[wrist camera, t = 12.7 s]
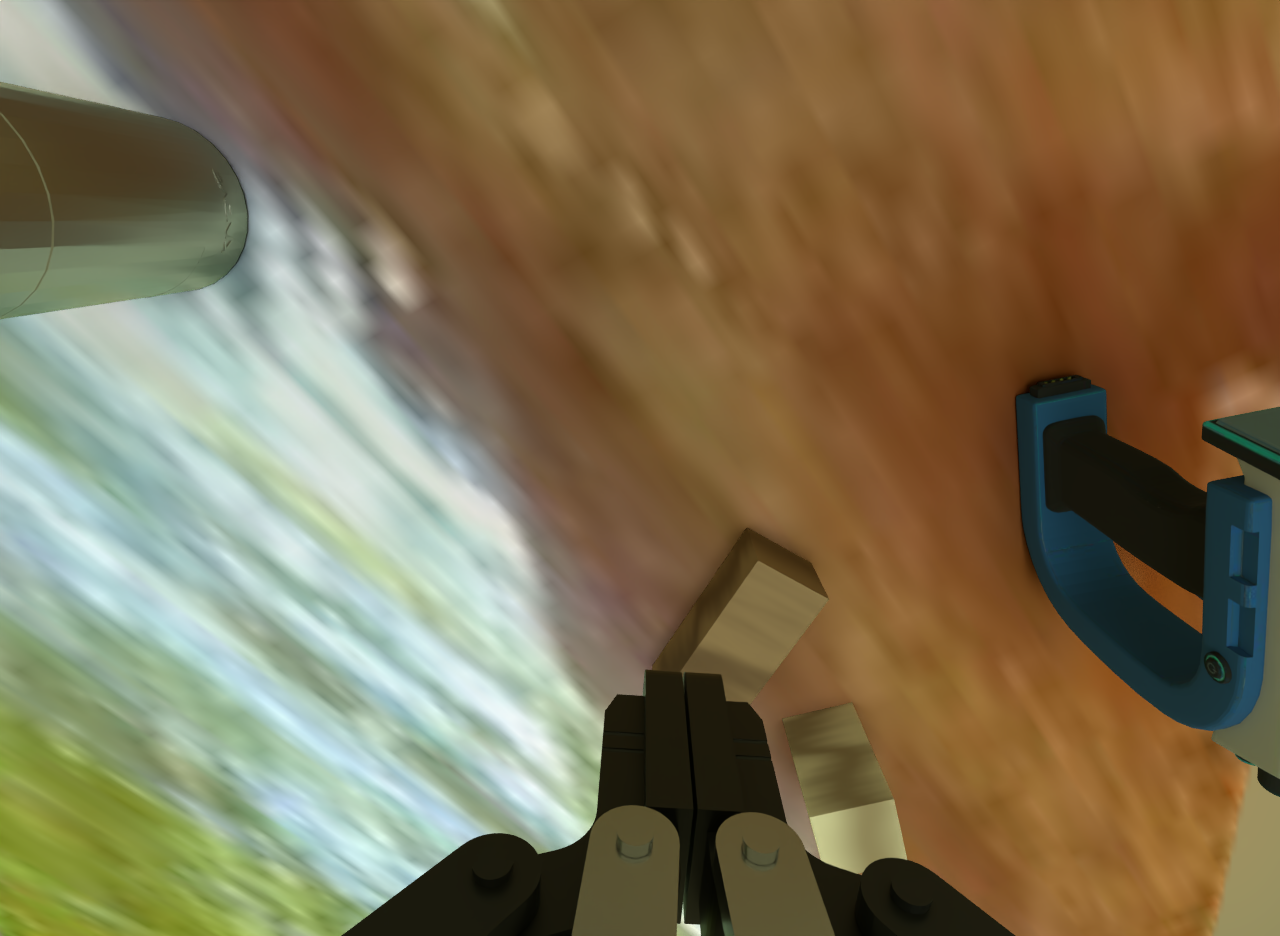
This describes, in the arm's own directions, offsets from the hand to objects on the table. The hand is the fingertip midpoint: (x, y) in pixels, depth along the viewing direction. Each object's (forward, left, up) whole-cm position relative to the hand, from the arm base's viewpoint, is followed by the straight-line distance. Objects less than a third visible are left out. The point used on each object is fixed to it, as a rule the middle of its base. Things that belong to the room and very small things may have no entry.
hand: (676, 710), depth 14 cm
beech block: (+14, -25, -31) cm, 42 cm away
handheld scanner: (+25, -4, -31) cm, 40 cm away
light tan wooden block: (+4, -21, -29) cm, 36 cm away
